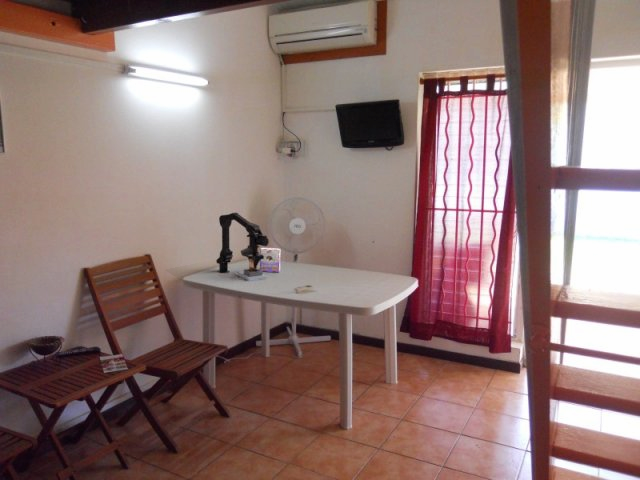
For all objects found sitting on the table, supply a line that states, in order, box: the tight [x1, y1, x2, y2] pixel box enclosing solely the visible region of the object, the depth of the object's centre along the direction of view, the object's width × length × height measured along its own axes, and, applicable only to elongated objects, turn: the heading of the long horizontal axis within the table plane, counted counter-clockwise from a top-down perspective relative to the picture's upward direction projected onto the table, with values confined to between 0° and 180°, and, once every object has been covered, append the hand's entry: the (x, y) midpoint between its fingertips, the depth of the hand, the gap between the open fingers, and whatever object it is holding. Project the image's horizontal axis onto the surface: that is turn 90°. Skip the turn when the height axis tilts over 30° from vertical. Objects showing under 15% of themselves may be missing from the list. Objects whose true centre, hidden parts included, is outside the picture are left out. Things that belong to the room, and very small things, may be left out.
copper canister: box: [248, 258, 258, 271], centre depth 330 cm, size 5×5×8 cm
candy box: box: [259, 247, 282, 273], centre depth 351 cm, size 14×6×16 cm, turn 84°
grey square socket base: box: [236, 268, 267, 282], centre depth 333 cm, size 17×13×5 cm
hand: (253, 267), depth 330 cm, fingers closed on copper canister, 5 cm apart
